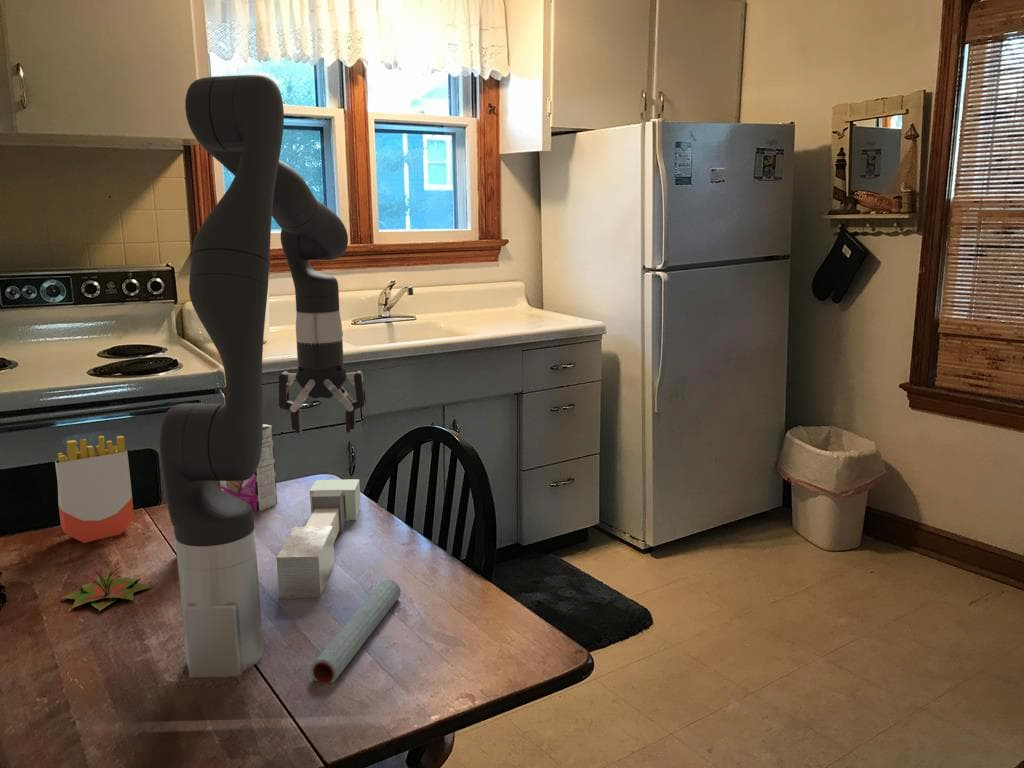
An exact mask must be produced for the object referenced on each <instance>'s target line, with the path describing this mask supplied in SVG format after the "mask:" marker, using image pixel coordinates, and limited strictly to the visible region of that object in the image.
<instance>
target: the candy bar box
mask: <svg viewBox="0 0 1024 768" xmlns="http://www.w3.org/2000/svg"><path fill="white" fill-rule="evenodd" d="M274 448H275V447H274V435H273V425H270V424H265V423H263V440H262V451H261V457H260V462H259V465H258V467H257V470H256V472H255V474H254V475H253V476H252V477H251V478H249V479H247V480H243V481H218V484H219V485H218V486H219V487H218V488H219V489H220V490H222V491H223V492H225V493H227V494H229V495H231V496H234V497H236V498H239V499H241V500H243V501H245V502H247V503H248V504H249V505H250V506H251V507H252V509H253V512H254V511H255V512H262V511H264V510H267V509H269V508H271V506H272V507H274V506H276V504H277V505H278V493H277V490H278V489H277V480H276V478H277V477H276V465H275V464H276V463H275V461H276V460H275V449H274ZM266 508H267V509H266Z"/></svg>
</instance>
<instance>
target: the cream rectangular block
mask: <svg viewBox="0 0 1024 768" xmlns="http://www.w3.org/2000/svg"><path fill="white" fill-rule="evenodd" d="M334 544H335V542H334V543H333V526H306V525H304V526H294V527H293V528H292V530H291V531H290V534H289V535H288V537H287V538H286V540H285V542H284V543H283V545H282V547H281V549H280V551H279V552H278V554H277V556H276V569H277V571H276V572H277V584H278V585H277V586H278V598H279V600H280V599H283V600H284V599H317V598H319V599H321V598H322V596H323V594H324V590H325V588H326V587H327V586H326V585H327V583H328V580H329V578H330V576H331V573H332V572H333V571H332V570H333V568H334V565H335V547H334Z"/></svg>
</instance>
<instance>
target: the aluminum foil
mask: <svg viewBox="0 0 1024 768" xmlns="http://www.w3.org/2000/svg"><path fill="white" fill-rule="evenodd" d="M401 592H402V591H401V588H400V586H399V584H398V583H397V582H396V581H394V580H391V579H384V580H382V581H381V582H380V583H379V584H378V586H377V587H376V588H375V589H374V590H373V591H372V592H371V593H370V595H368V597H367V599H365V600H364V602H363V603H362V604H361V606H360V607H359V608H358V609H357V611H355V613H353V615H352V617H351V618H349V620H348V622H346V623H345V624H344V626H343V627H342V628H341V630H339V632H337V634H336V635H335V636H334V638H333V639H332V640H331V641H330V642H329V643H328V645H326V647H325V648H324V650H322V652H321V653H320V654H319V655H318V656H317V658H315V660H314V661H313V662H312V664H311V666H310V674H311V677H312V678H313V680H314V681H316V682H318V683H322V684H328V683H330V684H331V683H332V684H334V683H335V681H336V680H337V679H338V678H339V676H340V675H341V674H342V672H343V671H344V669H345V668H346V667H347V666H348V665H349V663H350V662H351V661H352V659H353V658H354V657H355V656H356V654H357V653H358V652H359V650H360V649H361V647H363V645H364V644H365V642H367V640H368V639H369V637H370V636H371V635H372V633H373V632H374V630H375V629H376V628H377V627H378V625H379V624H380V623H381V622H382V620H383V619H384V617H385V616H386V615H387V614H388V612H389V611H390V609H392V607H393V606H394V604H395V603H396V602H397V601H398V599H399V598H400V596H401Z"/></svg>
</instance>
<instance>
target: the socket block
mask: <svg viewBox="0 0 1024 768" xmlns="http://www.w3.org/2000/svg"><path fill="white" fill-rule="evenodd" d="M315 490H343V498H344V518H345V520H356V519H357V520H358V517H359V515H358V514H360V512H361V509H362V508H361V507H362V505H361V487H360V479H359V478H358V479H357V478H356V479H355V478H353V479H351V478H350V479H316V480H315V481H314V483H313V484H312V486H311V488H310V489H309V499H310V501H309V502H310V516H311V515H312V513H313V510H312V495H313V494H314V492H315ZM360 508H361V509H360ZM359 511H360V512H359ZM357 516H358V517H357ZM357 520H356V521H357Z"/></svg>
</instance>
